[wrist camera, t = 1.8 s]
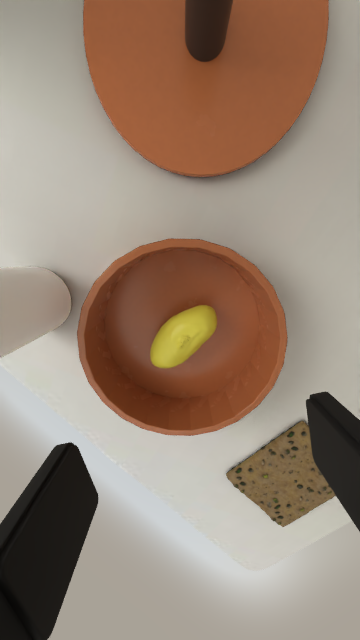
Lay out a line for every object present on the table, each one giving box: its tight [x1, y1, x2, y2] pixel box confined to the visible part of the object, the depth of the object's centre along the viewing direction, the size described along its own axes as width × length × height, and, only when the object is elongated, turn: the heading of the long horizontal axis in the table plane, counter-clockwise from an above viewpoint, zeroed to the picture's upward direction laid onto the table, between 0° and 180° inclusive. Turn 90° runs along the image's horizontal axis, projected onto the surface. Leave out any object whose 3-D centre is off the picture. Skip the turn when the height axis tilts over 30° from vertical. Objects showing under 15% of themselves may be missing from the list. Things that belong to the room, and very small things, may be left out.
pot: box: [77, 239, 287, 436], centre depth 21 cm, size 17×17×5 cm
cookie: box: [226, 421, 336, 527], centre depth 28 cm, size 12×12×1 cm
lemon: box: [150, 305, 217, 368], centre depth 21 cm, size 4×8×4 cm, turn 129°
